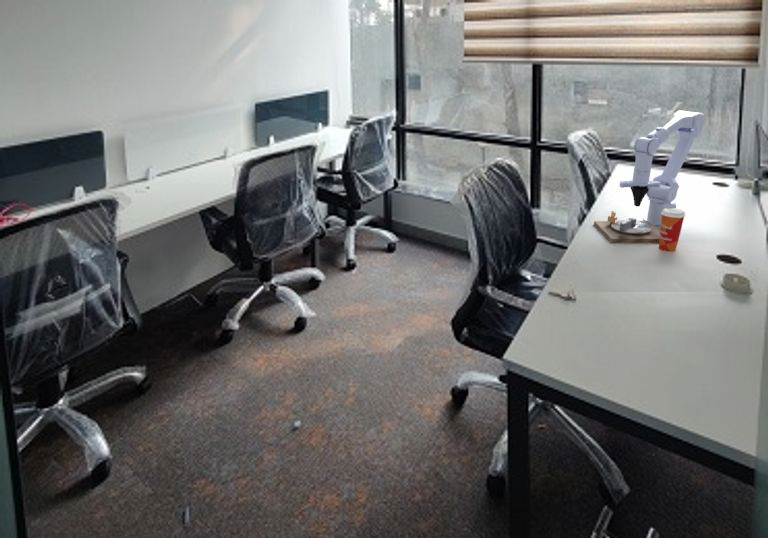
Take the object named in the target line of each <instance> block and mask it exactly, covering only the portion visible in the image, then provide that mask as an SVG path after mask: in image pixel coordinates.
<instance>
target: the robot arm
mask: <svg viewBox="0 0 768 538" xmlns="http://www.w3.org/2000/svg"><path fill="white" fill-rule="evenodd" d="M705 124H706V122H705V114H704V113H703V112H695V111H686V110H681V109H679V110H677V111H676V112H675V113H674V114H673V116H672V118H671V120H669V121H668V122H667V123H666V124H665V125H664V126H663V127H661V126H657V127H655V129H654V130H653V131H651V132H649V133H648V134H647V135H646V136H641V137H639V138H637V139H636V140H635V143H634V145H633V151H634V157H635V162H634V168H633V175H632V180H623V181H620V182H619V187H620V188H623V189H624V188H630V189H631V192H632V197H633V205H634V206H635V207H641V206H640V205H641V203H642V202H643V200H644V198H645V196H647V197H648V198H647V199H648V201H649V205H648V211H647V217H645V218H643V219H642V221H649V222H650V223H651V224H652V225H654V226H661V219H662V214H661V212H663V209H665V208H671V209H672V208H676V209H677V204H676V201H674V200H675V199H676V197H677V195H678V194H677V193H678V191H679V187H680V186H679V184H678V182H677V180H676V178H677V176H678V175H679V173H680V170H681V168H682V167H683V164H684V162H685V160H686V158H687V156H688V154H689V152H690V150H691V149H692V146H693V144H694V143H695V140H696V139H697V138H698V137H699V136H700V134H701V131H702V130H703V128H704V126H705ZM674 132H675V134H676V135H678V136H679V139H678V141H677V143H676V145H675V147H674V148H673V151H672V152H671V155H670V157H669V159H668V161H667V163H666V165H665V167H664V169H663V171H662V173H661V174H660V175H658V176H655V177H654V178H653V179H652V180H650V176H651V170H652V164H653V158H654V155H655V154H656V153H657V151H658V150H659V148H660V147H661V145H662V144H664V143H665V142H666V141H668V140H669V137H670V135H671V134H672V133H674Z"/></svg>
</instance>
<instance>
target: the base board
mask: <svg viewBox="0 0 768 538" xmlns="http://www.w3.org/2000/svg"><path fill="white" fill-rule="evenodd" d="M637 221H638V222H642V223H646V224H648V225H650V226H651V231H650V232H649V233H646V234H627V233H622V232H618V231H616V230H614V229H612V227H611V225H610V222H608V220H602V221H601V220H596V221H595V220H594V221H593V226H594V227H595V228H596V229H597V230H598V231H599V232H600V233H601V234H602V235H603V237H605V238H606V239H607V240H608V241H609V242H610V243H611V244H616V243H618V244H620V243H621V244H625V243H627V244H630V243H633V244H638V243H641V244H642V243H643V244H645V243H646V244H647V243H648V244H649V243H653V244H654V243H655V244H656V243H658V244H659V238H660V229H659V228H657V227H656V225H652V224H651V223H650V222H649V221H644V220H637Z"/></svg>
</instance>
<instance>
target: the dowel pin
mask: <svg viewBox="0 0 768 538" xmlns="http://www.w3.org/2000/svg"><path fill="white" fill-rule="evenodd" d="M616 215H617V212H616V211H613V210H612V211H611V214H610V216H615V217H616ZM612 223H613V222H610V225H611V224H612Z"/></svg>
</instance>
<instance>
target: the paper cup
mask: <svg viewBox="0 0 768 538" xmlns="http://www.w3.org/2000/svg"><path fill="white" fill-rule="evenodd" d="M661 214H662V219H661V225H660V229H659V230H660V238H659V243H658V249H659V250H660V251H664V252H668V253H669V252H675V251H676V250H677V246H678V243H679V240H680V235H681V232H682V227H683V223H684V220H685V219H684V218H685V217H686V212H685V211H684V210H683V209H681V208H677V207H676V208H672V209H671V208H665V209H663V212H661Z"/></svg>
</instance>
